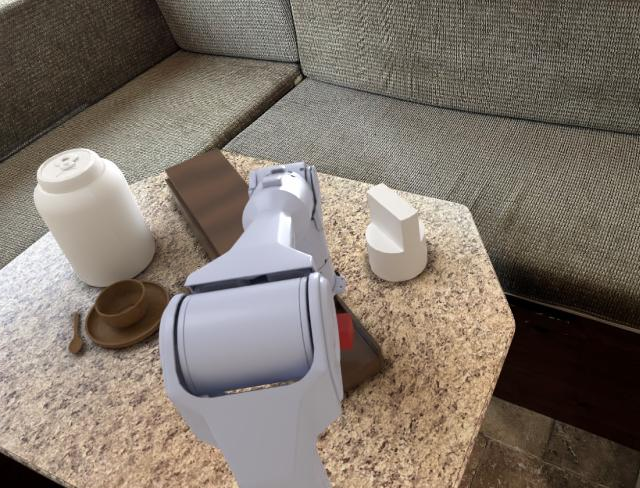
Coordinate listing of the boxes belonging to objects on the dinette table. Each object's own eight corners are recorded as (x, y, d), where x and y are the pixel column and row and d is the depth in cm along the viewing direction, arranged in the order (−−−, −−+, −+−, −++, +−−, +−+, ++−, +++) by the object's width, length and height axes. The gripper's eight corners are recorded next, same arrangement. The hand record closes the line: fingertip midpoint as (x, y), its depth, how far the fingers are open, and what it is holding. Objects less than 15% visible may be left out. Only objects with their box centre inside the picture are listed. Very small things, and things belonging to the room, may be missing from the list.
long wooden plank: (384, 368, 79) (379, 337, 75) (309, 416, 75) (299, 386, 71) (230, 174, 115) (220, 146, 111) (172, 198, 111) (161, 170, 107)
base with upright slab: (358, 258, 95) (348, 199, 87) (404, 231, 99) (398, 173, 91) (392, 291, 89) (384, 231, 82) (439, 261, 93) (435, 202, 85)
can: (73, 253, 101) (16, 157, 89) (148, 224, 106) (104, 128, 93) (83, 301, 93) (21, 202, 80) (165, 267, 97) (117, 168, 84)
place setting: (187, 271, 96) (175, 244, 92) (208, 368, 81) (195, 340, 78) (70, 311, 91) (53, 285, 88) (70, 421, 77) (50, 395, 73)
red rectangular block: (296, 351, 75) (290, 333, 73) (299, 332, 77) (294, 315, 75) (352, 349, 74) (348, 331, 72) (354, 330, 76) (350, 313, 74)
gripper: (332, 307, 60) (350, 385, 69) (345, 211, 72) (359, 288, 80) (262, 310, 61) (289, 387, 69) (286, 214, 72) (307, 290, 81)
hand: (323, 334), depth 75 cm, fingers closed on red rectangular block, 3 cm apart
